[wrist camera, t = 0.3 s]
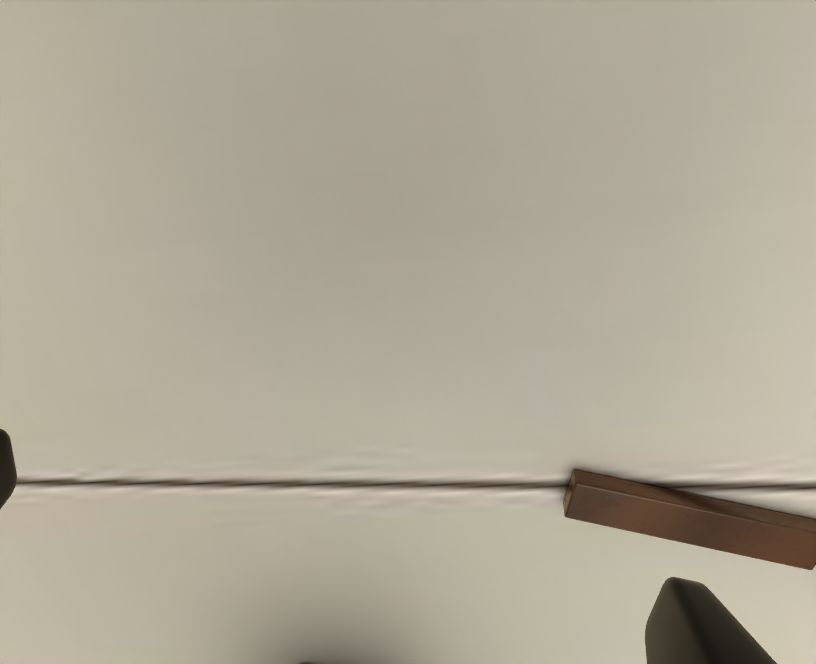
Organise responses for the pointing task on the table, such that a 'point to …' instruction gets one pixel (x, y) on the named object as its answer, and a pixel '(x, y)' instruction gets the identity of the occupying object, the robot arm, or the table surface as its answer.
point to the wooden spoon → (692, 519)
